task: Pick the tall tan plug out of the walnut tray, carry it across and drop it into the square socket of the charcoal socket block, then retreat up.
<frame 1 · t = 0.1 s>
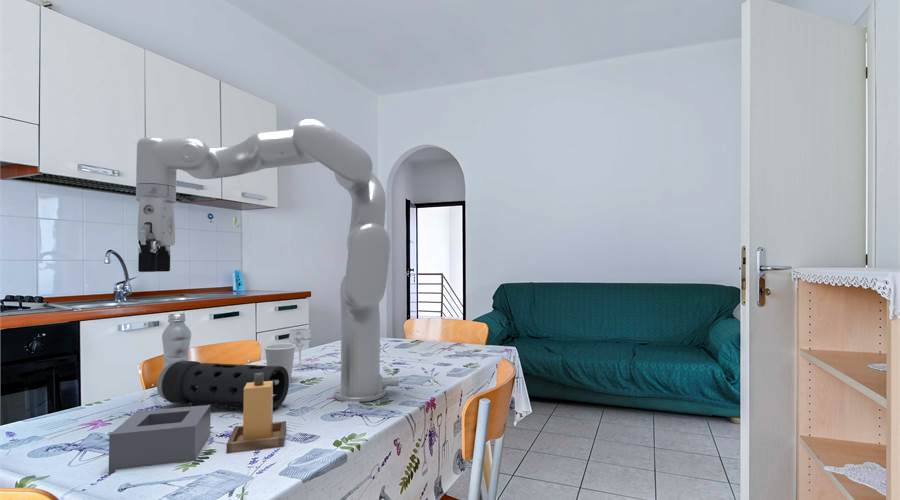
hand: (154, 271, 100), 31 cm above the table, tool pointing down, fingers open, 9 cm apart
plastic bottle: (175, 393, 117), on the table
dixie cup: (279, 382, 127), on the table
socket block: (164, 453, 78), on the table
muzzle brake: (222, 409, 104), on the table
tray: (258, 442, 83), on the table
plug: (258, 440, 83), resting on tray
wineglass: (299, 369, 144), on the table
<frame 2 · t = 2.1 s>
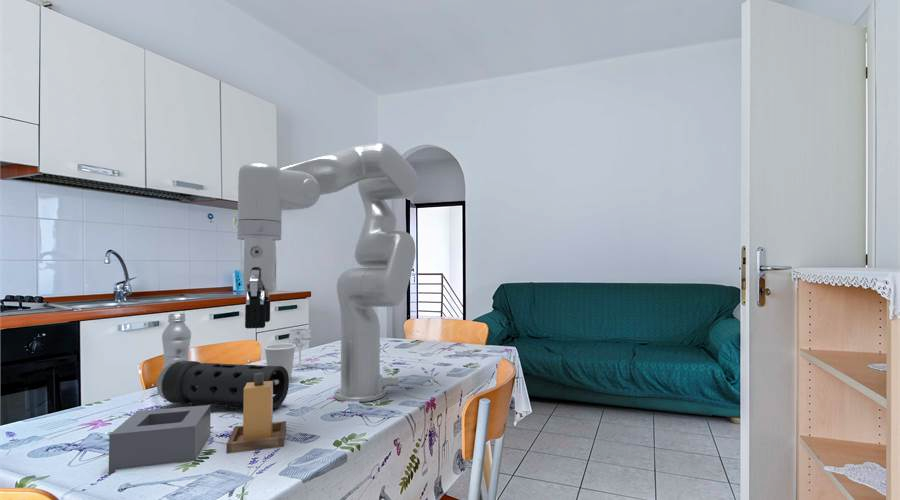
hand: (258, 324, 83), 21 cm above the table, tool pointing down, fingers open, 9 cm apart
nothing on the table moved.
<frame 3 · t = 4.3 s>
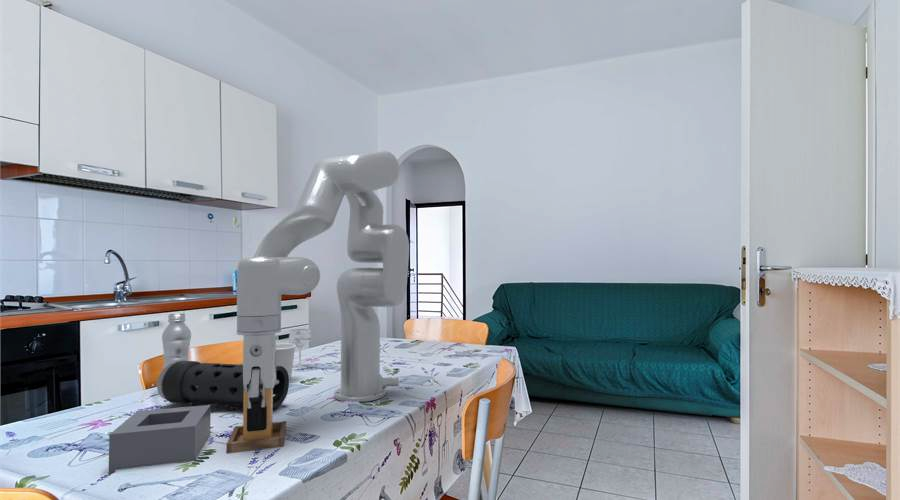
hand: (258, 424, 83), 3 cm above the table, tool pointing down, fingers closed on plug, 4 cm apart
plug: (258, 440, 83), point 1 cm above the table, touching gripper, tray
everything else where it was.
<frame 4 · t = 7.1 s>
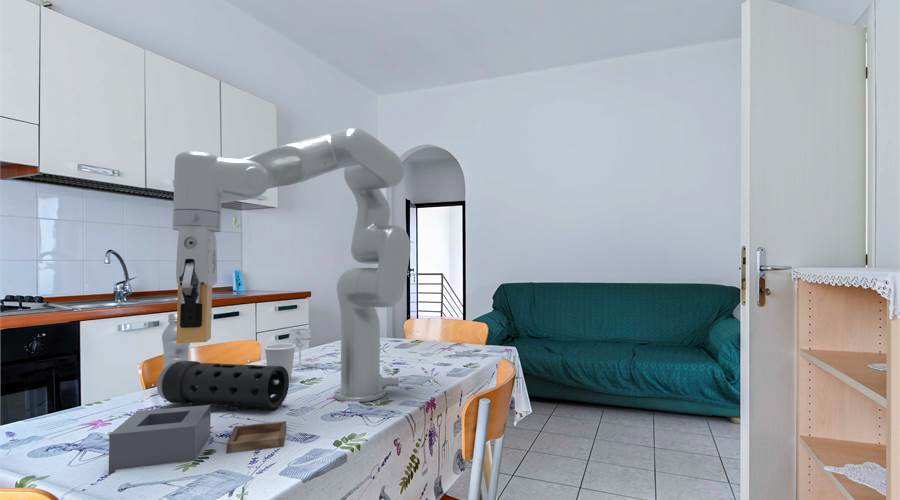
hand: (194, 324, 80), 22 cm above the table, tool pointing down, fingers closed on plug, 4 cm apart
plug: (194, 340, 80), point 19 cm above the table, touching gripper
everything else where it was.
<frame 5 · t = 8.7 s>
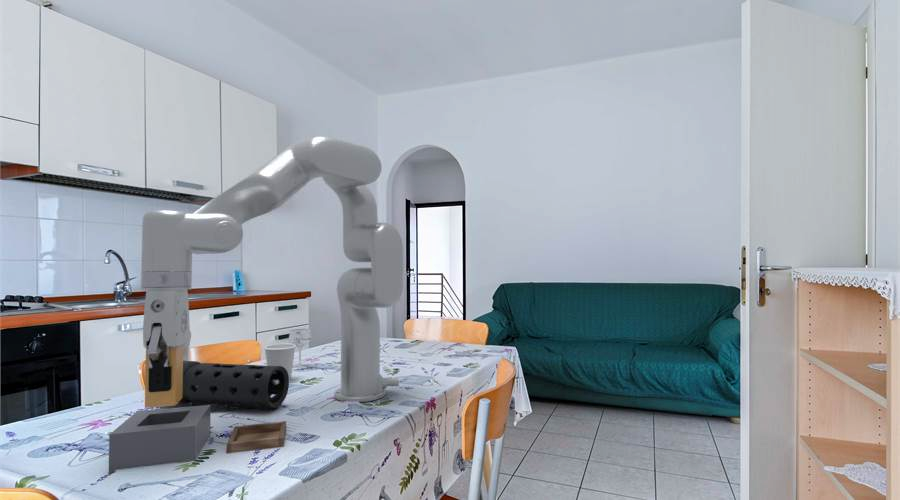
hand: (164, 386, 79), 12 cm above the table, tool pointing down, fingers closed on plug, 4 cm apart
plug: (164, 402, 78), point 9 cm above the table, touching gripper
everything else where it was.
when the fingers open (7 cm above the table, at t = 10.0 s): plug drops 1 cm, resting on socket block.
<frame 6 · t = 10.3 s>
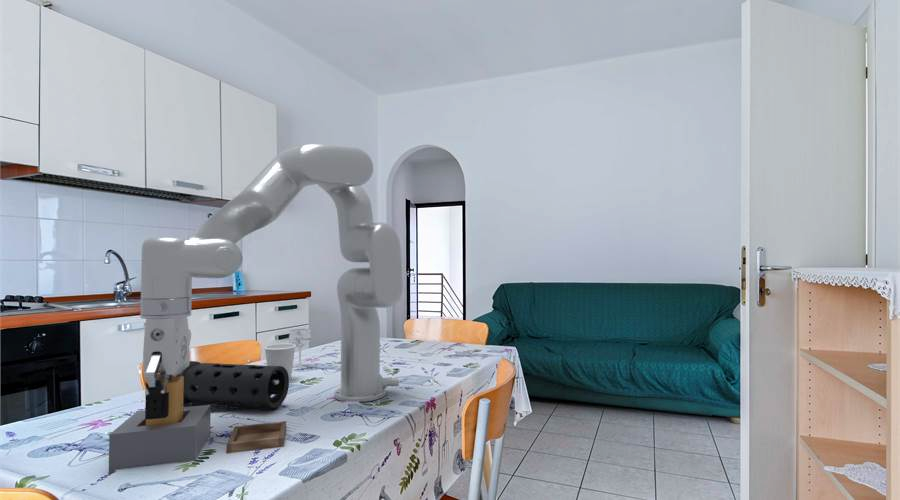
hand: (164, 409, 78), 7 cm above the table, tool pointing down, fingers open, 8 cm apart
plug: (164, 438, 78), point 2 cm above the table, touching socket block
everything else where it was.
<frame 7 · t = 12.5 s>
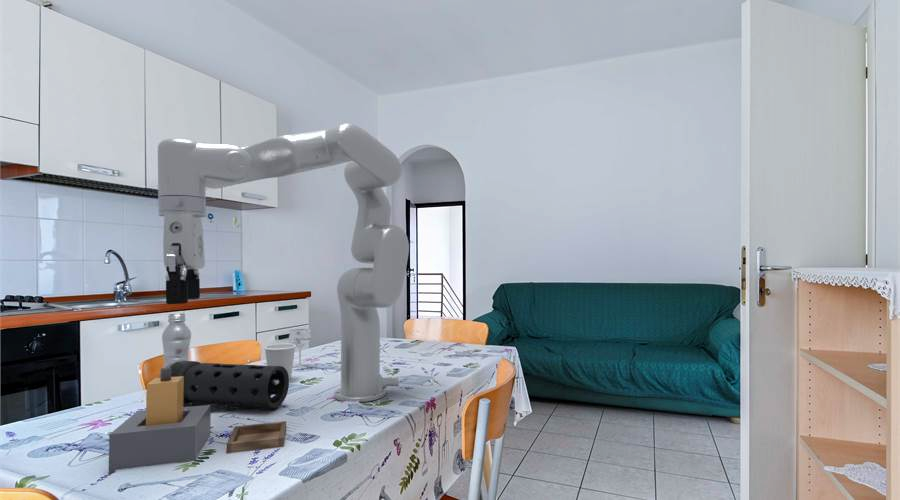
hand: (184, 301, 83), 26 cm above the table, tool pointing down, fingers open, 9 cm apart
nothing on the table moved.
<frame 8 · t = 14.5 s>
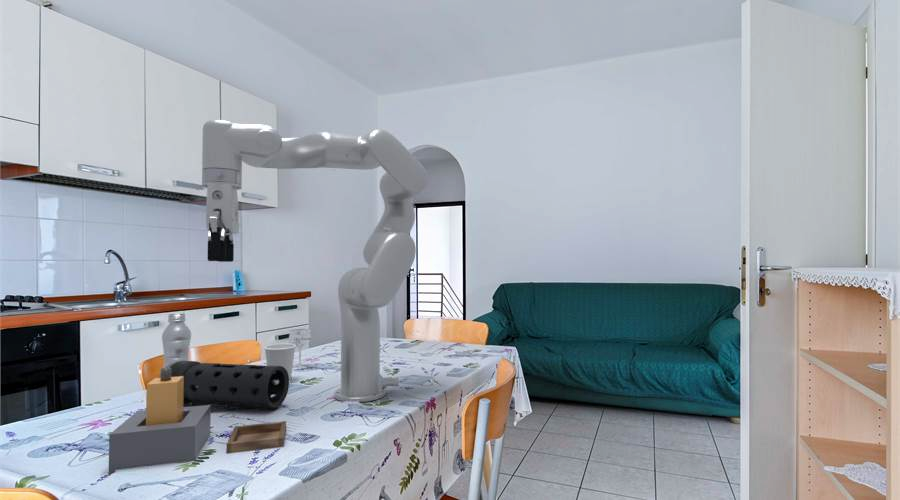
hand: (221, 261, 95), 33 cm above the table, tool pointing down, fingers open, 9 cm apart
nothing on the table moved.
at the end: plug 0.0 cm off-centre on the socket block, point 2.5 cm above the socket block's base; plug tilted 0°; the gripper is holding nothing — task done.
